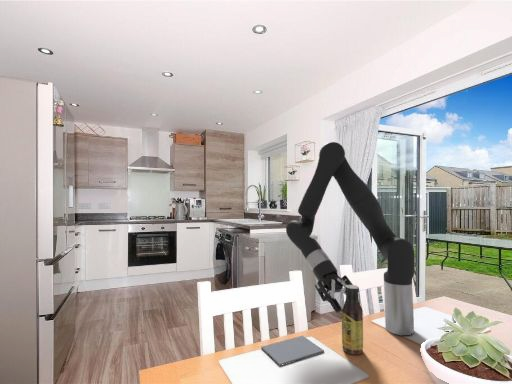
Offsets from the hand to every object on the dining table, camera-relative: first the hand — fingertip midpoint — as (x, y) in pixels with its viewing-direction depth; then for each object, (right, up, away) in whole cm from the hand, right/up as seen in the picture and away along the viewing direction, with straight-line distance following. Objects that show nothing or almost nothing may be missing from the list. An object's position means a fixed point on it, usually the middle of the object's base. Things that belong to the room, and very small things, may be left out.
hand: (348, 308), depth 87 cm
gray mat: (-18, -13, -1) cm, 22 cm away
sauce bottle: (+1, -13, -2) cm, 13 cm away
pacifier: (+41, -13, +11) cm, 45 cm away
